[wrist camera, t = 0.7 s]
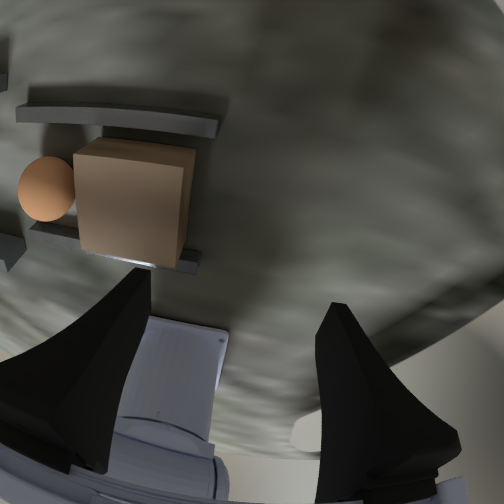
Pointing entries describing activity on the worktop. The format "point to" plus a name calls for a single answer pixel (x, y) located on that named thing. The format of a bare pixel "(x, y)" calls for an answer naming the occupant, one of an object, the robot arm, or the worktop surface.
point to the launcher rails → (120, 118)
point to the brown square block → (133, 198)
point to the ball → (47, 188)
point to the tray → (3, 245)
